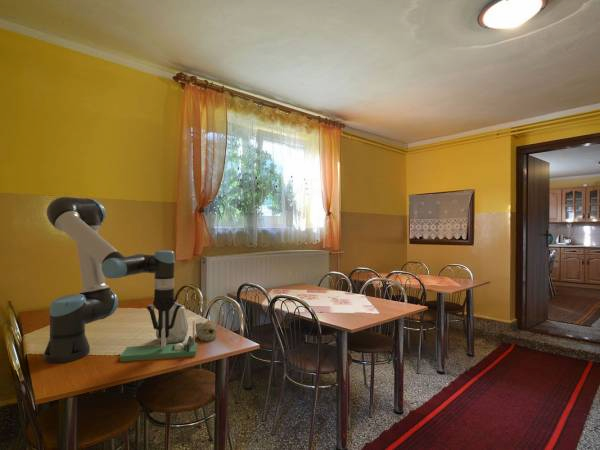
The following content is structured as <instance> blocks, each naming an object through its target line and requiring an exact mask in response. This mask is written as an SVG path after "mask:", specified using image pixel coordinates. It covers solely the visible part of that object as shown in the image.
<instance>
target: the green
mask: <svg viewBox="0 0 600 450" xmlns="http://www.w3.org/2000/svg"><path fill="white" fill-rule="evenodd" d="M195 326H196V321H195V320H192V335H189V336H188V339H187V342H185V343H182V342H181V343H182V344H183V345H184V350H176V351H174V347H175V345H176V344H177V343H166V346H165V347H161V344H152V345H138V346H137V345H136V346H126V348H125V349H124V351H123V352H122V353H121V354H120V356H119V361H120V362H131V361H143V360H144V361H145V360H147V361H148V360H158V359H159V360H160V359H161V360H162V359H173V358H174V359H175V358H187V357H188V358H191V357H196V355H197V351H198V342H196V340H195V335H196V327H195Z"/></svg>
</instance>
